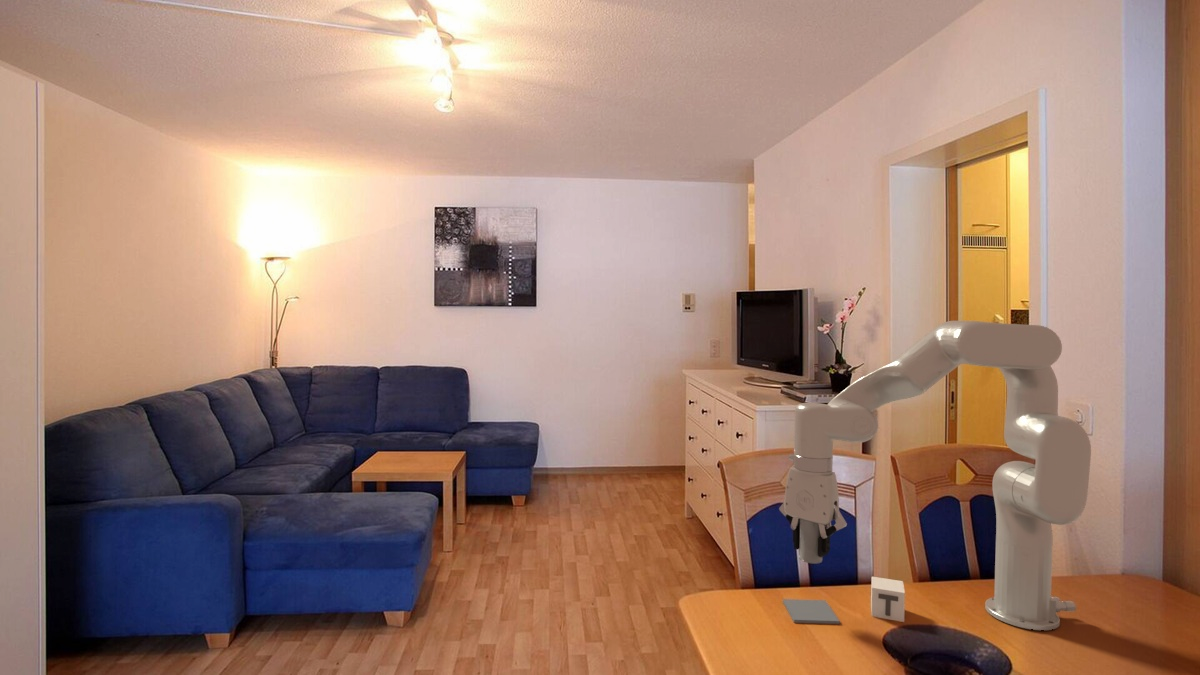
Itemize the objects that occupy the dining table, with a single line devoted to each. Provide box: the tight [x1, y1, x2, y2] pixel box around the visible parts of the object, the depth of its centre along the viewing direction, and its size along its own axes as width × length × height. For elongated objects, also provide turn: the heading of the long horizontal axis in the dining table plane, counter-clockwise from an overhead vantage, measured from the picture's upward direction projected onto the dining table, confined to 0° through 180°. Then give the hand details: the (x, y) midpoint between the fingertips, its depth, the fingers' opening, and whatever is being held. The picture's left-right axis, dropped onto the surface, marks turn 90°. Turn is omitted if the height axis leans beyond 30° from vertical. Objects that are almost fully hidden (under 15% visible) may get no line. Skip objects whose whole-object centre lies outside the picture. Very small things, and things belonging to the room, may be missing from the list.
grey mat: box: [782, 598, 841, 625], centre depth 127 cm, size 9×9×1 cm
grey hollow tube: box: [798, 519, 823, 564], centre depth 126 cm, size 4×4×10 cm
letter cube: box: [870, 576, 906, 623], centre depth 127 cm, size 6×6×6 cm
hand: (811, 550), depth 127 cm, fingers closed on grey hollow tube, 4 cm apart
